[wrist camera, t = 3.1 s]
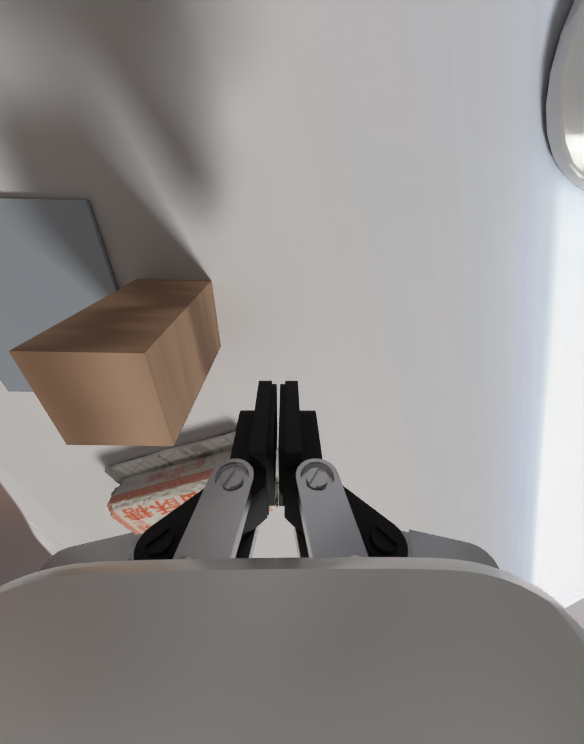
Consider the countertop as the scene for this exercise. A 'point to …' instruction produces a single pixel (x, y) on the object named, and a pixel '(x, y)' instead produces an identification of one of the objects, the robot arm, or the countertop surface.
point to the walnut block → (126, 363)
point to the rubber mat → (46, 271)
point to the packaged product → (167, 481)
